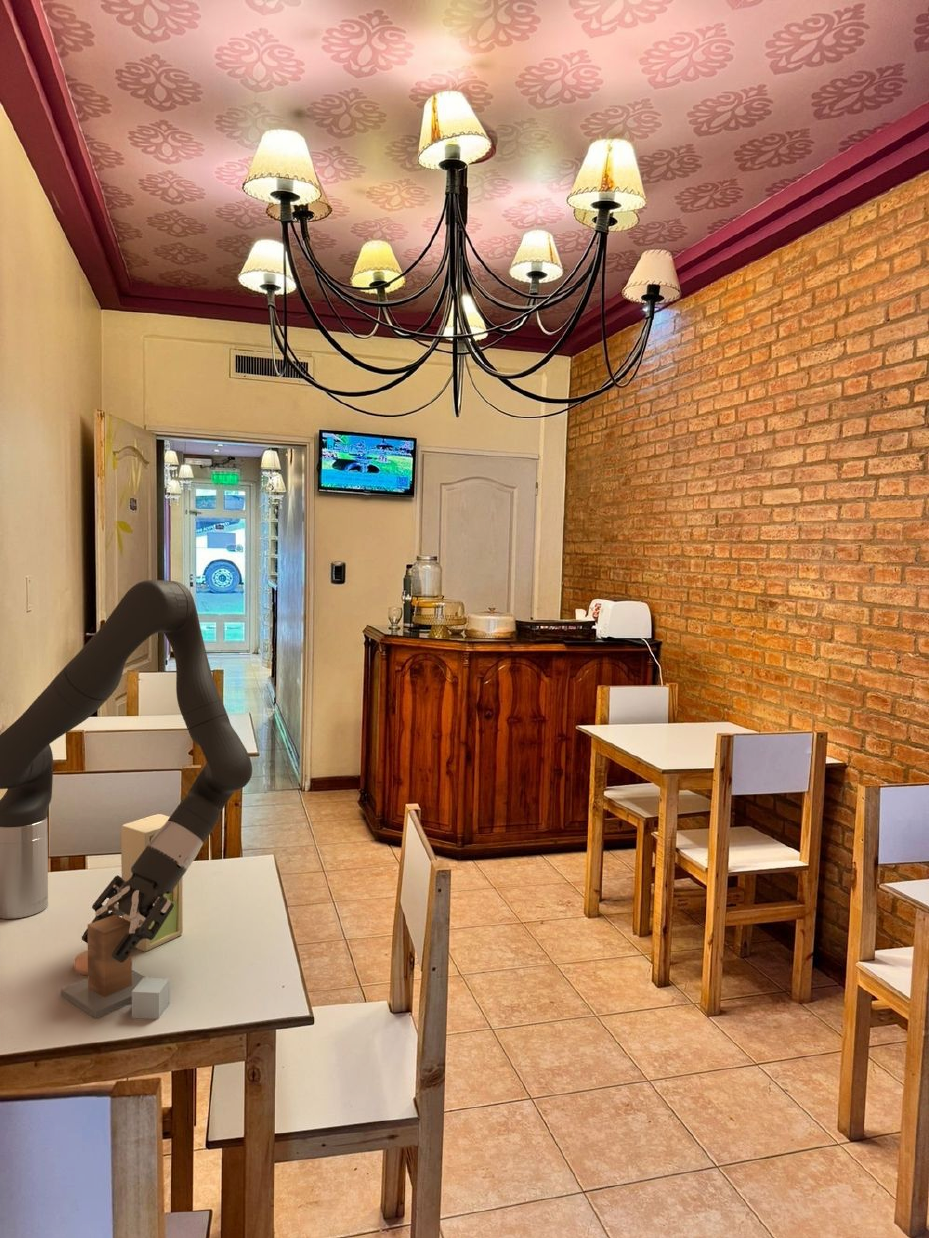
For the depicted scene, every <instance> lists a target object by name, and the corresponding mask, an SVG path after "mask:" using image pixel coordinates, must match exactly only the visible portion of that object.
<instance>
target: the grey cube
mask: <svg viewBox="0 0 929 1238" xmlns="http://www.w3.org/2000/svg"><path fill="white" fill-rule="evenodd" d="M170 980H171V979H170V978H167V977H165V978H161V977H160V978H159V977H146V978H143V979H142V980H141V981H140V982H139V983H138V985H137V986H136V987H135V988H134V990H133V991H132V1002H131V1018H132V1019H133V1018H134V1019H138V1018H139V1019H160V1018H161V1017H162V1016H163V1013H164V1012H165V1010H167V1008H168V1007H169V1005H170V1002H171V1001H170V997H171V995H170V989H171V988H170V987H171V986H170V983H171V982H170Z"/></svg>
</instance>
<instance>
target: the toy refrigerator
mask: <svg viewBox="0 0 929 1238" xmlns="http://www.w3.org/2000/svg"><path fill="white" fill-rule="evenodd" d="M170 817H171V816H168V815H165V814H161V813H157V814H153V815H150V816H147V817H144V818H140V819H137V820H132V821H130V822H127V823H124V824H122V825H121V828H120V835H121V836H120V838H121V839H120V840H121V842H120V846H121V847H120V848H121V851H120V855H121V857H120V860H121V878H123V879H124V880H125V881H128V880H129V879H130V878H131V877H132V875H133V873H132V872H131V867H132V866H133V865H134V863H135V862H136V860H137V859H138V858H139V856H140V855H141V854H142V852H143V851H144V849H145V848H146V847H147V845H148V844H149V843H150V841H151V840H152V838H153V837H154V836H155V834H156V833H157V832H158V831H159V830H160V828H161V827H162V826H163V825H164V824H165V823H166V822H167V821H168V819H169V818H170ZM183 878H184V877H182V878H181V879H180V881H179V882H178V884H177V885H176V887H175V888H174V890H173V891H172V892H171V893H170V894H164V897H165V898H167V899H168V900H170V901H171V902H172V903H173V904H174V907H173V909H172V910H171V912H170V913H169V915H168V916H167V918H166V920H165V921H164V923H163V924H162V926H161V928H160V929H159V931H158V932H157V934H156V936H155V937H154V938H153V939H152V940H149V939H143V940H140V941H139V942H138V944H137V945H136V947H135V948H136V949H138V950H140V951H142V952H149V951H150V950H152V949H155V948H157V947H159V946H160V945H163V944H165V943H167V942H170V941H171V940H174V939H176V938H178V937H179V936H182V935H183V930H184V929H183V924H184V923H183V919H184V918H183V917H184V916H183V915H184V914H183V909H184V907H183V903H184V902H183V895H184V894H183V883H184V880H183ZM121 918H123V919H125V920H128V921H130V922H131V920H130V916H129V915H127V914H124V915H123V916H121ZM154 923H155V922H154V921H153V922H152V923H151V925H150V926H149V929H150V930H151V928H152V926H153V925H154ZM138 927H139V926H138Z"/></svg>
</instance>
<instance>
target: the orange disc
mask: <svg viewBox="0 0 929 1238" xmlns="http://www.w3.org/2000/svg"><path fill="white" fill-rule="evenodd" d="M73 960H74V961H73V962H74V964H73V966H74V968H73V971H74V972H75V973H76V974H78V975H81V976H88V950H85V951H83V952H81V953H79V954H77V955H76V956H75V957H74V959H73Z"/></svg>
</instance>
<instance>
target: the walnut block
mask: <svg viewBox="0 0 929 1238" xmlns="http://www.w3.org/2000/svg"><path fill="white" fill-rule="evenodd" d="M130 924H131V922H130V921H128V920H125V919H123V918H122V916H117V915H112V916H109V917H107V918H104V919H101V920H98V921H96V922H93V923H91V922H90V923H88V924H87V928H88V943H87V951H88V975H87V978H88V988H89V989H91V990H93V991H94V992H96V993H98V994H99V995H101V996H103V997H106V996H109V995H111V994H113V993H115V992H118V991H120V990H122V989H124V988H126V987H129V986H131V985H132V970H133V969H132V967H133V966H132V965H133V964H132V963H133V960H132V959H133V957H132V956H133V954H132V953H133V951H132V952H131V954H130V955H129V957H128V958H127V959H126V960H125V961H124V962H122V963H121V962H119V961H117V960H116V959H114V958H112V953H113V952H114V950H115V949H116V947H117V946H118V944H119V943H120V942H121V940H122V939H123V937H124V936H125V934H126V933H128V934H130V933H129V929H130Z"/></svg>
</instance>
